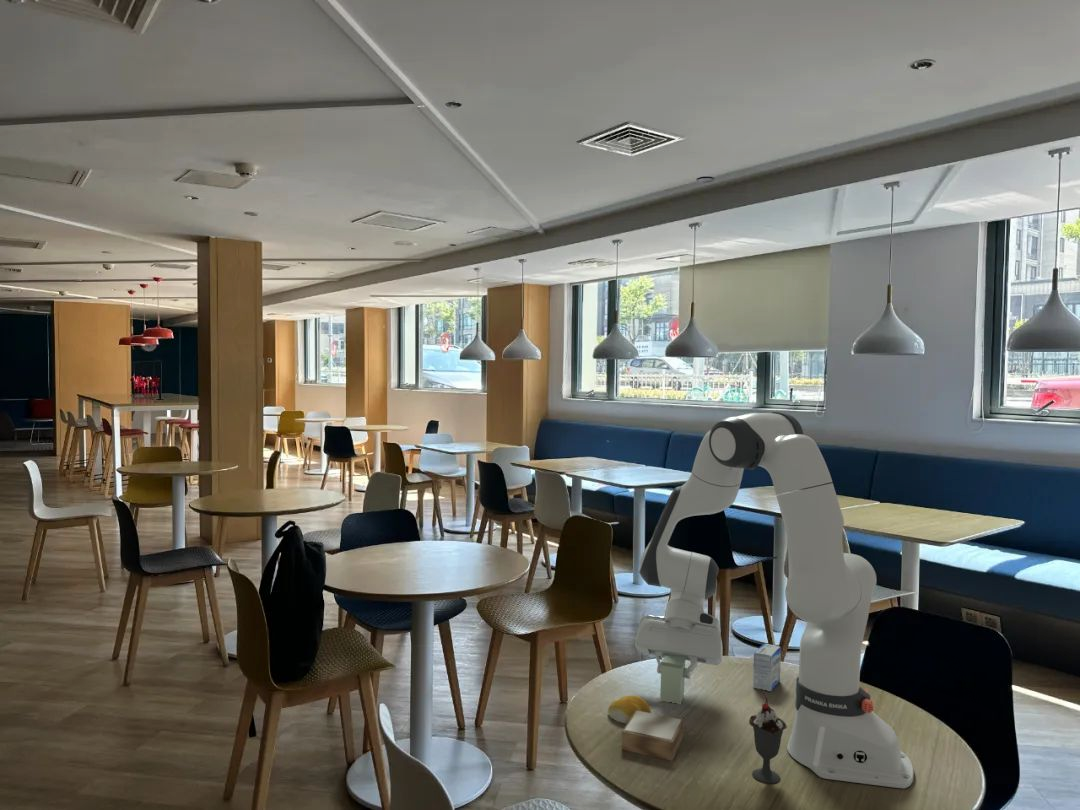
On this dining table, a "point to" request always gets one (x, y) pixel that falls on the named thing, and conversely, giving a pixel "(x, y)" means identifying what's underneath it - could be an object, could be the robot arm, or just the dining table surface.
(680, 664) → the green pillar block
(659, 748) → the wooden square block
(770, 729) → the sundae
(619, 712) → the bread roll
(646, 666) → the dining table surface
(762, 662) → the medicine box
